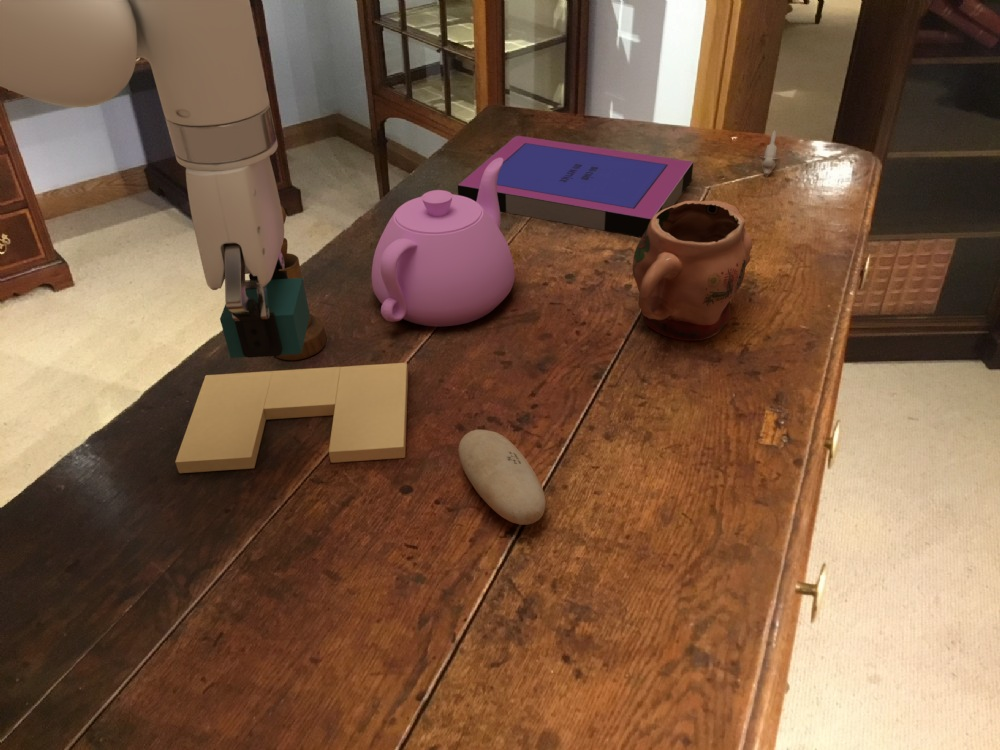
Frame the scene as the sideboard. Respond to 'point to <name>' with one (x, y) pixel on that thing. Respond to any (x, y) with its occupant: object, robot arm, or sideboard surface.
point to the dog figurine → (770, 156)
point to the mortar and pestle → (315, 327)
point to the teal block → (276, 316)
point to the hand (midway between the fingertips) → (269, 330)
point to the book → (583, 184)
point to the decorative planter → (691, 268)
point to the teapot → (444, 257)
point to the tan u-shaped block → (297, 413)
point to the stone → (502, 476)
